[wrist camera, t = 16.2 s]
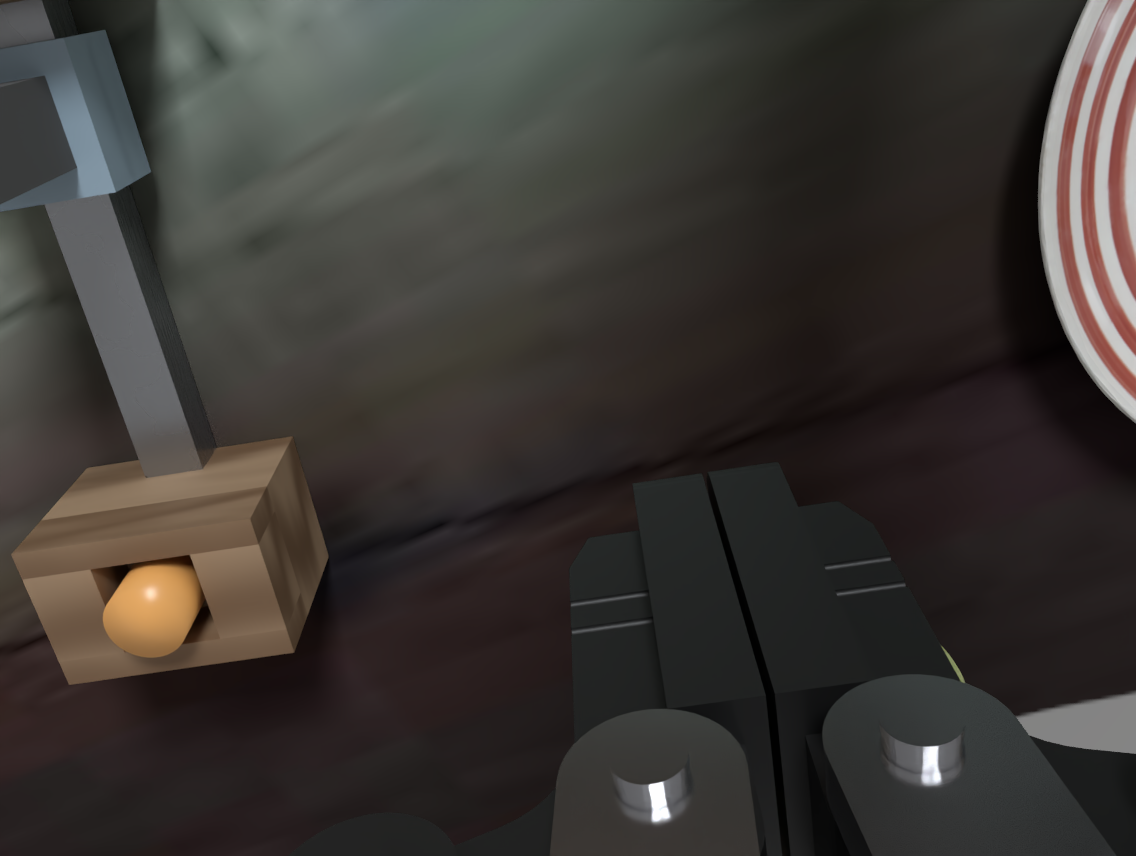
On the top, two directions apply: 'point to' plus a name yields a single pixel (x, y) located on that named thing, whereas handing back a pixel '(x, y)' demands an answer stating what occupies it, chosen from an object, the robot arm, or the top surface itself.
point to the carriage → (65, 123)
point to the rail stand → (160, 464)
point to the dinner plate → (1094, 197)
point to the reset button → (154, 606)
